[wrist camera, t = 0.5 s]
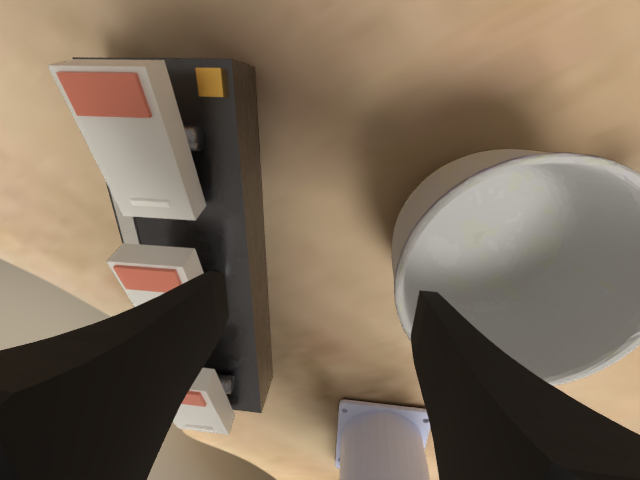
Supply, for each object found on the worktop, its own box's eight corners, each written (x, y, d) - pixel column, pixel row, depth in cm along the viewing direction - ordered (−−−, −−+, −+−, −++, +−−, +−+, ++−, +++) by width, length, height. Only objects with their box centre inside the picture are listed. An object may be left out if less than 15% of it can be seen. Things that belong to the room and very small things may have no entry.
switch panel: (272, 376, 27) (256, 427, 23) (186, 367, 28) (155, 414, 24) (254, 67, 17) (220, 55, 13) (122, 65, 18) (49, 54, 14)
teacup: (379, 292, 22) (389, 382, 15) (386, 136, 18) (406, 159, 11) (588, 299, 21) (711, 404, 13) (652, 129, 16) (887, 150, 9)
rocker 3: (235, 414, 24) (228, 437, 23) (186, 408, 24) (176, 431, 23) (214, 369, 19) (204, 394, 18) (155, 362, 20) (141, 387, 19)
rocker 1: (206, 205, 17) (193, 222, 16) (138, 201, 17) (120, 218, 16) (164, 60, 12) (141, 67, 11) (74, 59, 13) (43, 66, 12)
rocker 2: (223, 328, 20) (213, 350, 19) (166, 322, 21) (153, 343, 20) (195, 248, 16) (180, 269, 15) (123, 243, 16) (103, 263, 15)
